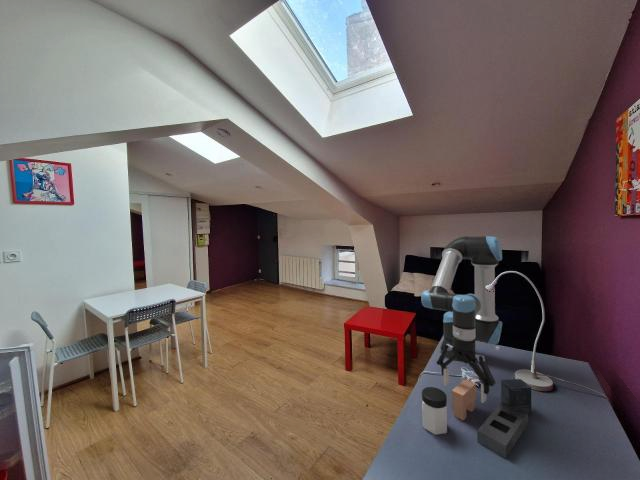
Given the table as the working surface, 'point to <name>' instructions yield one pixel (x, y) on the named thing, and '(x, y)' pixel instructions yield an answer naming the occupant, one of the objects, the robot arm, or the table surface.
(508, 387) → the box
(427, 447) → the table surface
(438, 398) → the jar
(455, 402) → the orange tan block
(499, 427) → the grey slotted block
